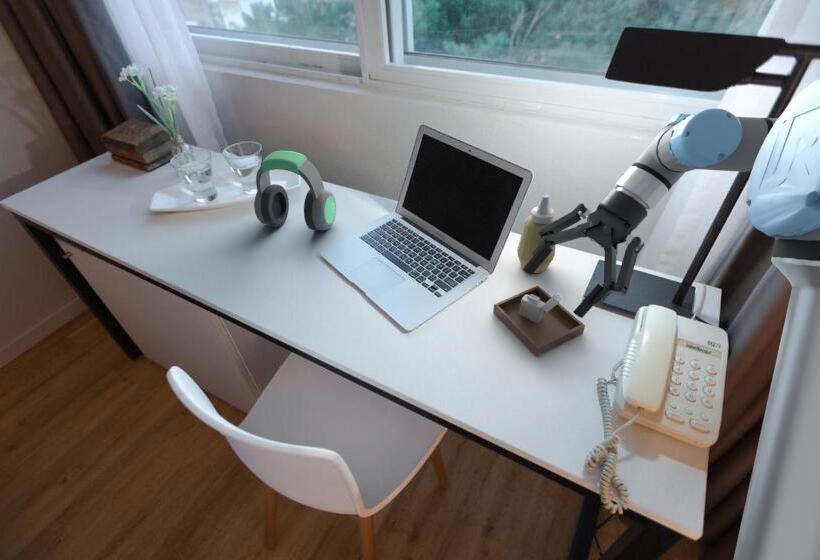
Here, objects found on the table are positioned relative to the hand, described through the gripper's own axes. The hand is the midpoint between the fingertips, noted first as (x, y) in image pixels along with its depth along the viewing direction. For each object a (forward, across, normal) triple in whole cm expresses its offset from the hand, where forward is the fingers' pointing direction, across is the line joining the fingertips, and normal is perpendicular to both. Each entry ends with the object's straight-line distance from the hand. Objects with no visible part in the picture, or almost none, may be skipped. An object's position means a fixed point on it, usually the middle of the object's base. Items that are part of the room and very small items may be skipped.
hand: (550, 292), depth 81 cm
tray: (+7, 0, -4) cm, 7 cm away
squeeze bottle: (-1, +14, -12) cm, 18 cm away
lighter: (+6, 0, -3) cm, 7 cm away
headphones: (+28, +59, +17) cm, 68 cm away
